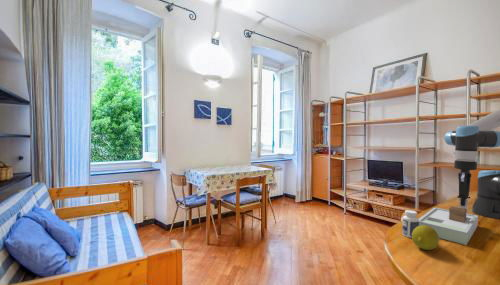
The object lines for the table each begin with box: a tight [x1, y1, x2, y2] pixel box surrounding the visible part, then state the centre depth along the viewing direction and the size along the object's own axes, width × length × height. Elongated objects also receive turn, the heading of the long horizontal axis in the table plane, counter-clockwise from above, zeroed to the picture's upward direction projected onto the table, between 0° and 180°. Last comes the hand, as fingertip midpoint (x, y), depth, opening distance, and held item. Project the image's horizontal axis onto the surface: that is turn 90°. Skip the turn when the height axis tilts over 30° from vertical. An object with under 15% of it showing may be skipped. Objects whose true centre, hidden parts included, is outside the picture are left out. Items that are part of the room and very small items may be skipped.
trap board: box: [418, 207, 479, 246], centre depth 106 cm, size 30×16×5 cm, turn 131°
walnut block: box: [448, 205, 468, 223], centre depth 105 cm, size 5×5×5 cm
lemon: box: [411, 225, 440, 251], centre depth 87 cm, size 11×8×8 cm
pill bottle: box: [401, 209, 419, 239], centre depth 97 cm, size 5×5×10 cm
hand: (462, 212), depth 109 cm, fingers closed
